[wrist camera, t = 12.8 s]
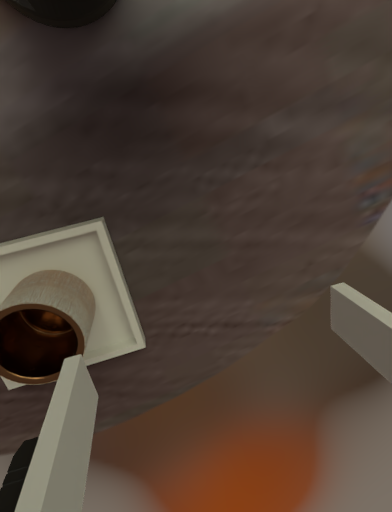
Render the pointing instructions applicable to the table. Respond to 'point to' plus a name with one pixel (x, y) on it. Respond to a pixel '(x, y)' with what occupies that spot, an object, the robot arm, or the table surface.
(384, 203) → the table surface
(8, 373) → the planter
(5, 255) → the tray
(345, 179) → the table surface
